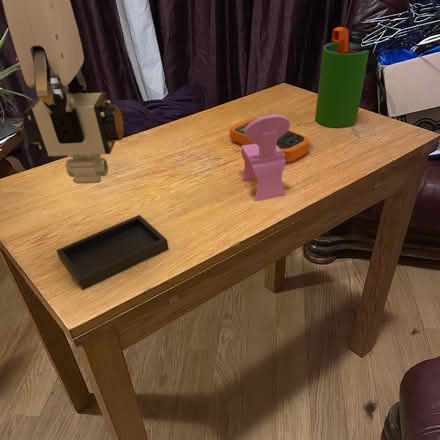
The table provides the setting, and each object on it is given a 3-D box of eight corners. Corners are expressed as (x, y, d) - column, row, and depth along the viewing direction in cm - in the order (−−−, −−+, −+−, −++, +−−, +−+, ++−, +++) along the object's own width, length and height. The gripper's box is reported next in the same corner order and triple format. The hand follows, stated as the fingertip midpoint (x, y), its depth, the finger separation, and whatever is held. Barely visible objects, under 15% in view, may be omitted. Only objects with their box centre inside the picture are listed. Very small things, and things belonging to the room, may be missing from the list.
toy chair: (274, 172, 88) (277, 97, 78) (291, 193, 82) (296, 115, 71) (236, 179, 87) (233, 104, 76) (250, 202, 81) (249, 123, 70)
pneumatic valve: (128, 185, 59) (107, 96, 51) (45, 188, 60) (12, 100, 51) (134, 166, 63) (116, 80, 55) (56, 168, 64) (27, 84, 55)
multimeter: (286, 167, 89) (287, 151, 87) (227, 141, 99) (227, 127, 97) (312, 152, 93) (314, 137, 91) (254, 129, 103) (254, 115, 101)
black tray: (82, 290, 66) (78, 280, 64) (59, 259, 71) (55, 250, 70) (168, 249, 72) (167, 239, 70) (141, 223, 78) (139, 214, 76)
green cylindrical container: (362, 118, 104) (379, 23, 90) (344, 131, 100) (359, 34, 86) (326, 109, 109) (337, 18, 95) (307, 121, 105) (315, 28, 91)
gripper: (19, -48, 50) (65, 107, 63) (-43, -23, 38) (30, 164, 51) (82, -53, 50) (116, 104, 63) (40, -28, 38) (92, 161, 51)
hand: (77, 130), depth 57 cm, fingers closed on pneumatic valve, 5 cm apart
